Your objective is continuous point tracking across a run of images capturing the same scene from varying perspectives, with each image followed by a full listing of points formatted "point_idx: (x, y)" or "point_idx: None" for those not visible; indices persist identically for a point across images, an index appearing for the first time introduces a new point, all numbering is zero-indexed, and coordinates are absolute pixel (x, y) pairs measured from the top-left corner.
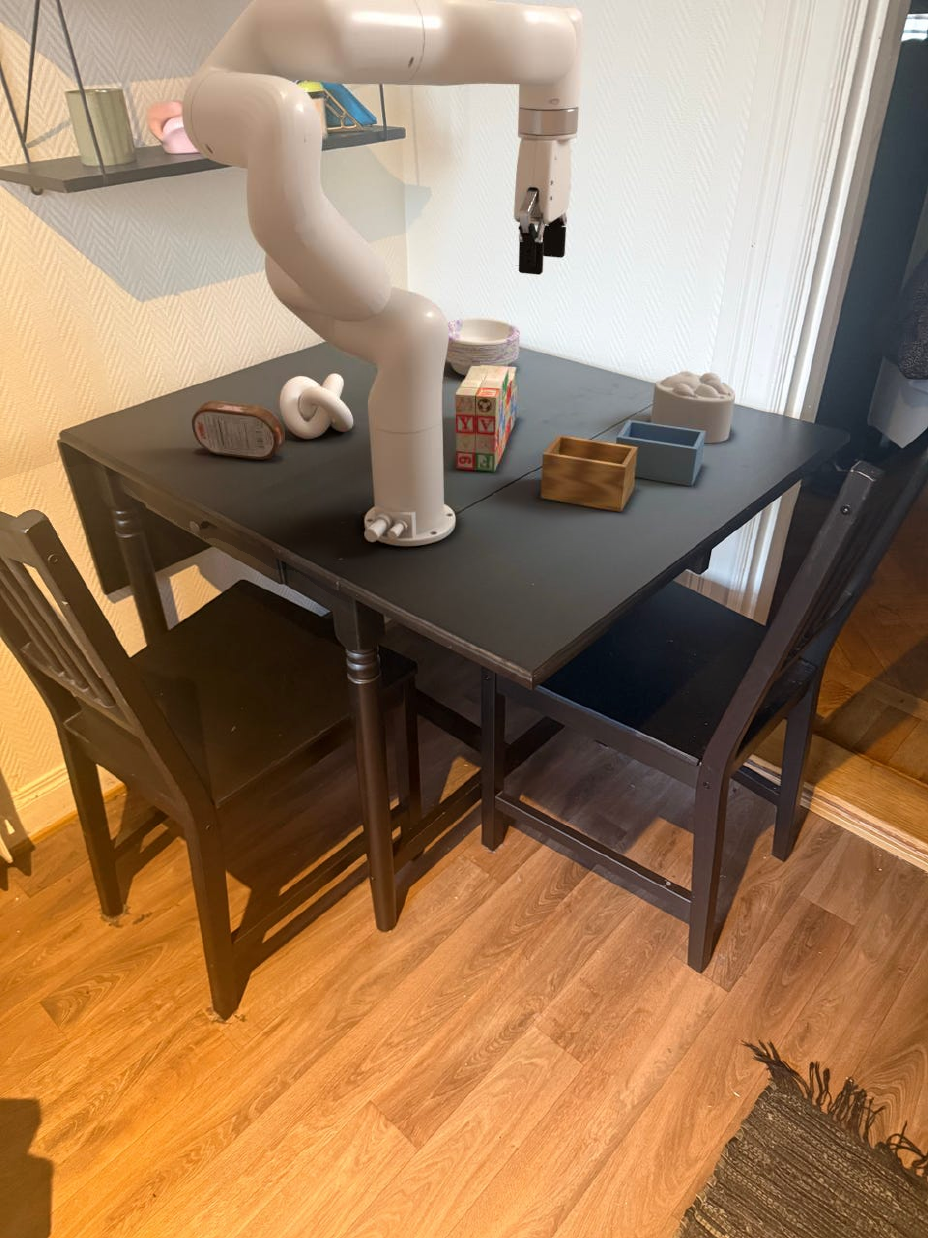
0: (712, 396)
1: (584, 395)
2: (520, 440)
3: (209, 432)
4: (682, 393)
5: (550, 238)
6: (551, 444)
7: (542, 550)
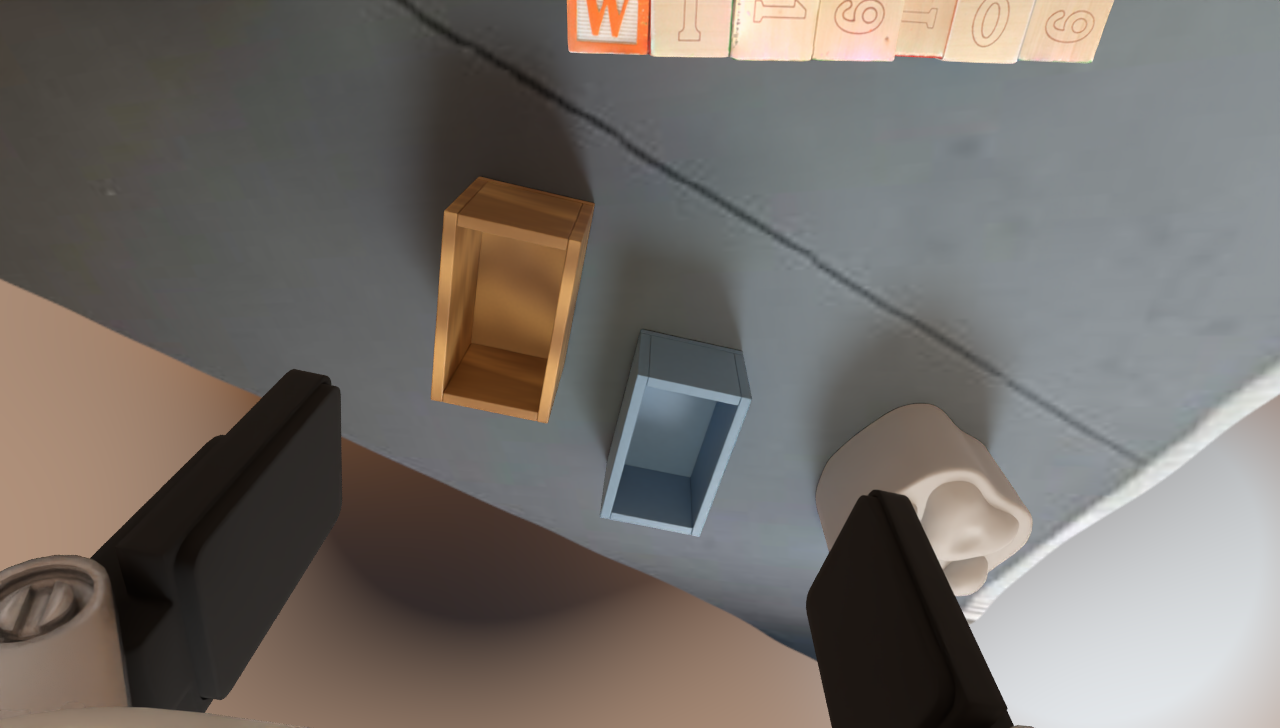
0: None
1: (1162, 247)
2: (826, 82)
3: None
4: None
5: (870, 648)
6: (510, 229)
7: (245, 200)
